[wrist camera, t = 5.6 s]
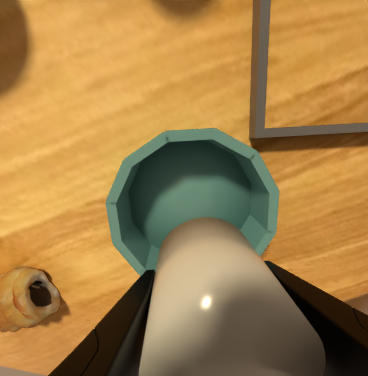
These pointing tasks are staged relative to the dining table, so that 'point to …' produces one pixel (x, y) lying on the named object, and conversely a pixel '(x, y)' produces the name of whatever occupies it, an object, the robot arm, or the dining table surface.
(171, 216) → the bowl
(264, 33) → the gray square frame
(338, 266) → the dining table surface
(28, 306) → the pastry
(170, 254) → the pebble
